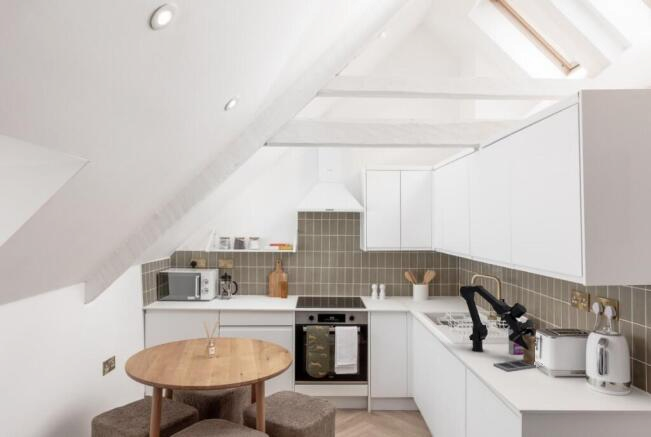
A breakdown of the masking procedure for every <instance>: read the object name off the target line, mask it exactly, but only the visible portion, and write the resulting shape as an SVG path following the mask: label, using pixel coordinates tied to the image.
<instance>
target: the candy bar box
mask: <svg viewBox="0 0 651 437" xmlns="http://www.w3.org/2000/svg"><path fill="white" fill-rule="evenodd" d="M509 328H510V327H509V325H507V329H508V330H507V331H508V332H507V333H508V334H507V337H508V336H509V335H511V334H512V333H513V330H510V329H509ZM527 329H528V328H527ZM525 331H526V330H525ZM508 354H510V355H513V356H521V355H523V347H522V346H520V345H518V344H516V343H514V342H513V341H510V340H509V339H508Z"/></svg>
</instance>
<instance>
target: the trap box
mask: <svg viewBox="0 0 651 437" xmlns="http://www.w3.org/2000/svg"><path fill="white" fill-rule="evenodd" d="M493 367H495V368H498V369H500V370H501V371H505V372H507V373H510V372H517V371H523V370H529V369H536V365H529V364H527V363H524V362H523V359H518V360H511V361H502V362H496V363H493Z"/></svg>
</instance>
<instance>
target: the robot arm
mask: <svg viewBox="0 0 651 437" xmlns="http://www.w3.org/2000/svg"><path fill="white" fill-rule="evenodd" d="M459 288H460V289H459V293H460V294H461V297H462V298H463V300H464V301H465V304H466V305H467V309H468V312H469V315H470V319H471V321H472V328H471V329H472V331H471V332H472V333H471V334H470V335H469V336H468V338H469V341H471V342H472V345H471V346H472V347H471V351H472V352H479V353H483V352H484V351H485V350H484V348H483V347H484V346H483V345H484V344H483V341H485V340H486V338H487V337H488V332H489V330H488V328H487V325H486V324H483V323H482V320H481V317H480V315H479V311H478V307H477V304H476V300H475V296H476V295H475V294H476V293H477V294H478V295H479V296H480V297H481V298H482V299H484V301H486V302H487V303H489V305H490V306H491V307H492V310H494V312H495V313H496V314H497V315H498V316H499V315H501V316H500V322H504V321H505V323H506V324H507V326H509V327H510V328H509V329H510V330H513V333H512V334H511V335H509V336H508V335H507V338H508V340H510V341H513V342H514V343H516V344H518V345H520V346H522V347H523V348H525V349H527V350H528V349H529V348H528V346H527V345H526V343H525V342H524V340H523V336H525V335H532V336H536V332H537V330H536V328H534V322H533V321H532V320H531V318H530V319H527V320H526V319H525V320H526V321H525V322H522V321H519V320H518V319H520V318H522V317H523V316H524V315H525V314H526V313H528V311H527V308H526V307H525V306H524V305H522V304H520V303H519V302H515V303H514V304H513V306H509V304H508V303H506V302H504V301H502V300H499V299H497V297H495V296H494V295H493V294H492V293H491V292H489V291H488V290H487V289H485V288H484V286H483V285H481V284H478V285H471V284H470V285H469V284H467V285H462V286H461V287H459ZM527 328H528V329H527ZM525 330H526V331H525Z"/></svg>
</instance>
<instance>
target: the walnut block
mask: <svg viewBox="0 0 651 437" xmlns="http://www.w3.org/2000/svg"><path fill="white" fill-rule="evenodd" d="M536 337H537V336H536V335H535V336H532V335H525V336H523V340H524V342H525V343H526V345H527V346H528V348H529V349H528V350H527V349H525V348H523V354H522V357H523V358H522V360H523V362H524V363H527V364H529V365H534V362H535V346H536V343H535V342H536Z"/></svg>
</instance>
